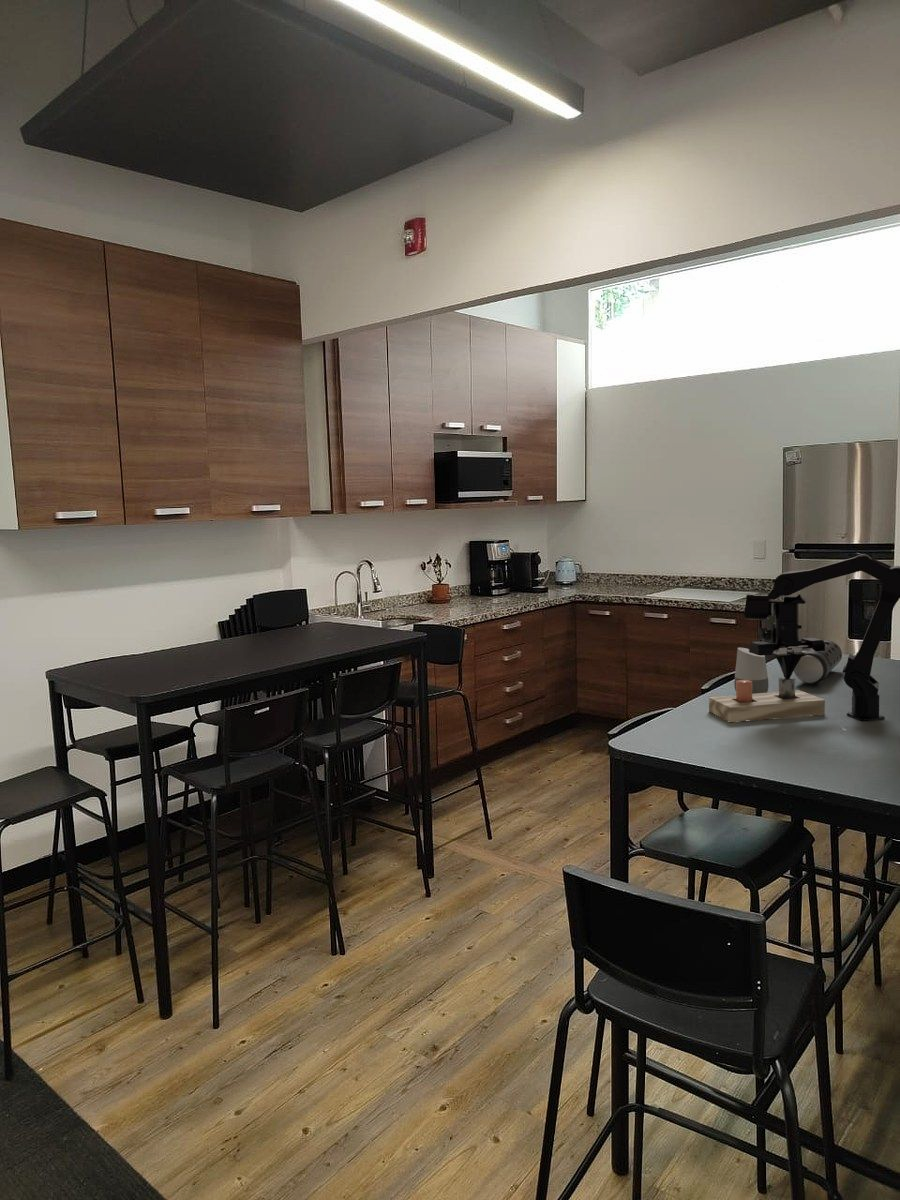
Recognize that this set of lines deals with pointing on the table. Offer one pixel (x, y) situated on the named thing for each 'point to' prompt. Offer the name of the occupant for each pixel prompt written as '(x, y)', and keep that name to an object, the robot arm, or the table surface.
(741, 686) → the red button
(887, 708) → the table surface
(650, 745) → the table surface
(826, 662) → the muzzle brake
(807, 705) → the button panel
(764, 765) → the table surface
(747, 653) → the smart speaker
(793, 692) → the grey button
